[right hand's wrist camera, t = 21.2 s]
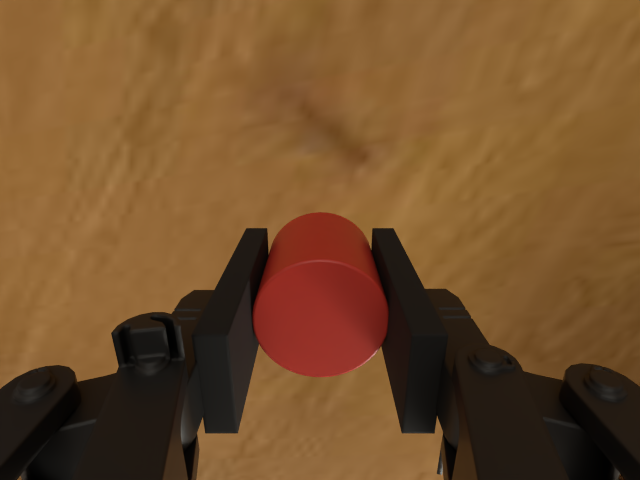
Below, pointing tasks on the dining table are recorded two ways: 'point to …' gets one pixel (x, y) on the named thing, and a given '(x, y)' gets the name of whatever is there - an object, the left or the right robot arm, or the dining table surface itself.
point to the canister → (320, 298)
